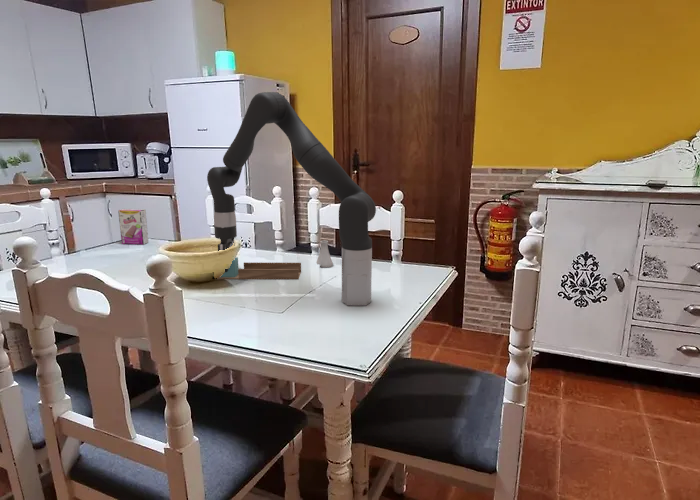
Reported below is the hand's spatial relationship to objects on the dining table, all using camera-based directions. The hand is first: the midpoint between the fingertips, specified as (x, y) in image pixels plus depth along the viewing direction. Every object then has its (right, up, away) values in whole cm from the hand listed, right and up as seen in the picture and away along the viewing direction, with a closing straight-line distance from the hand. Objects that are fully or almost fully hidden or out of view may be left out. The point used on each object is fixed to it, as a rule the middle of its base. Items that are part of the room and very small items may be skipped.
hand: (227, 268), depth 172 cm
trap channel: (+10, -4, +1) cm, 11 cm away
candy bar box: (-58, +10, +56) cm, 81 cm away
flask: (+34, 0, +19) cm, 39 cm away
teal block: (-1, -2, +1) cm, 3 cm away
